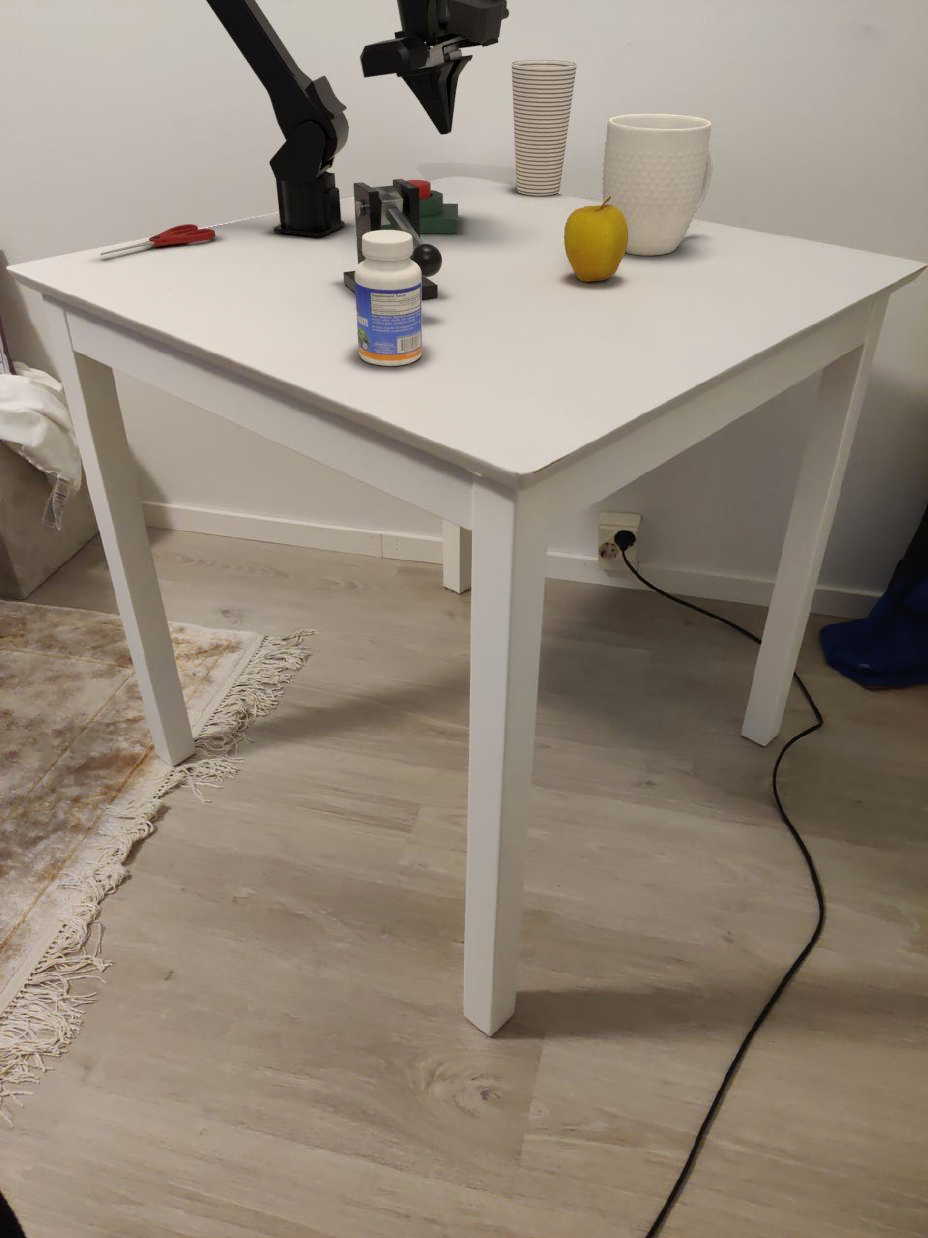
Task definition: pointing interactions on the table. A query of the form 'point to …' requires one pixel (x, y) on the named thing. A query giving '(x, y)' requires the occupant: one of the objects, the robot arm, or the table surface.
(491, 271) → the table surface
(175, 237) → the scissors
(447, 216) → the button box
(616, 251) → the apple
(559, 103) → the cup
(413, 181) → the button
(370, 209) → the bracket
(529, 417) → the table surface
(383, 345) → the pill bottle
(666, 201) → the mug
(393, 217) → the lever
